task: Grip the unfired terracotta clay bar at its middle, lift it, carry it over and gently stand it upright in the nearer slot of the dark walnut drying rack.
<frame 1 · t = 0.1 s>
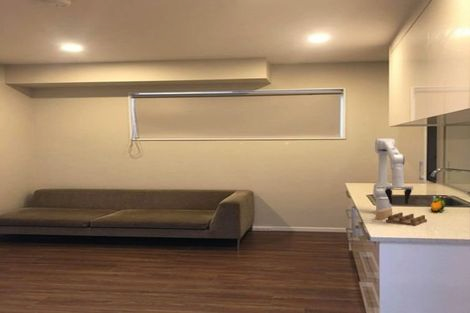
hand: (398, 204, 221), 11 cm above the counter, tool pointing down, fingers open, 7 cm apart
clay bar: (383, 218, 239), on the counter
corn: (437, 211, 260), on the counter
drying rack: (406, 221, 229), on the counter
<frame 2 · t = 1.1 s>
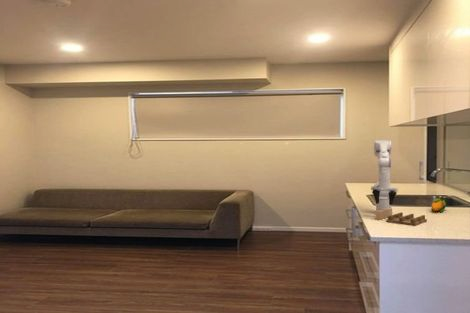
hand: (384, 204, 238), 8 cm above the counter, tool pointing down, fingers open, 7 cm apart
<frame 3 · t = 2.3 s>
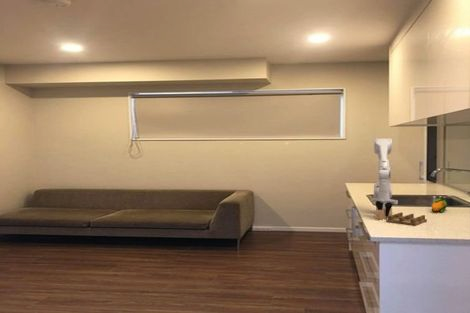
hand: (383, 215, 239), 1 cm above the counter, tool pointing down, fingers closed on clay bar, 3 cm apart
clay bar: (383, 218, 239), on the counter, touching gripper
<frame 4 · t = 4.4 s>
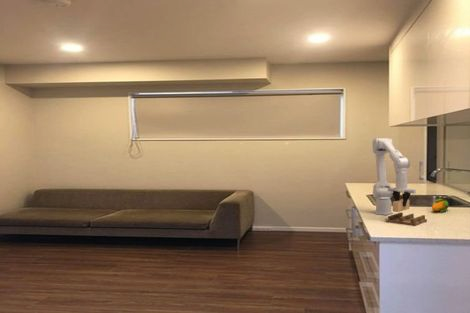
hand: (401, 206, 231), 8 cm above the counter, tool pointing down, fingers closed on clay bar, 3 cm apart
clay bar: (401, 210, 231), point 6 cm above the counter, touching gripper
when the fingers open (4 cm above the counter, at t = 6.2 s): clay bar stays where it is, resting on drying rack.
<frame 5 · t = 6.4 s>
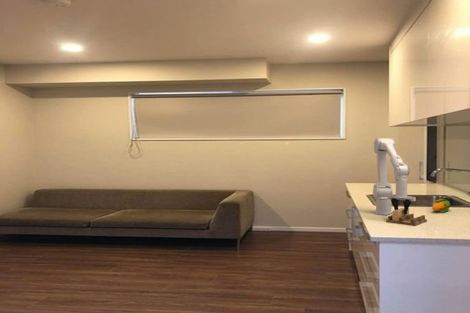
hand: (401, 213, 231), 4 cm above the counter, tool pointing down, fingers open, 4 cm apart
clay bar: (400, 218, 231), point 1 cm above the counter, touching drying rack
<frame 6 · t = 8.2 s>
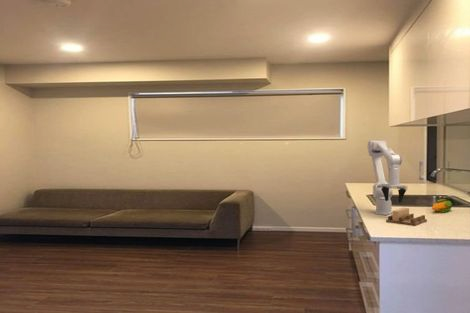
hand: (393, 201, 238), 9 cm above the counter, tool pointing down, fingers open, 7 cm apart
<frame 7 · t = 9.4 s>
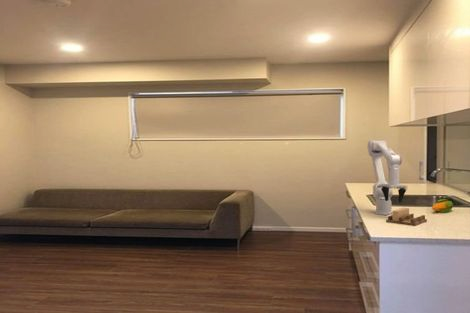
hand: (393, 201, 238), 9 cm above the counter, tool pointing down, fingers open, 7 cm apart
at the end: clay bar 0.1 cm from the target spot on the drying rack, point 1.2 cm above the drying rack's base; clay bar tilted 0°; the gripper is holding nothing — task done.
